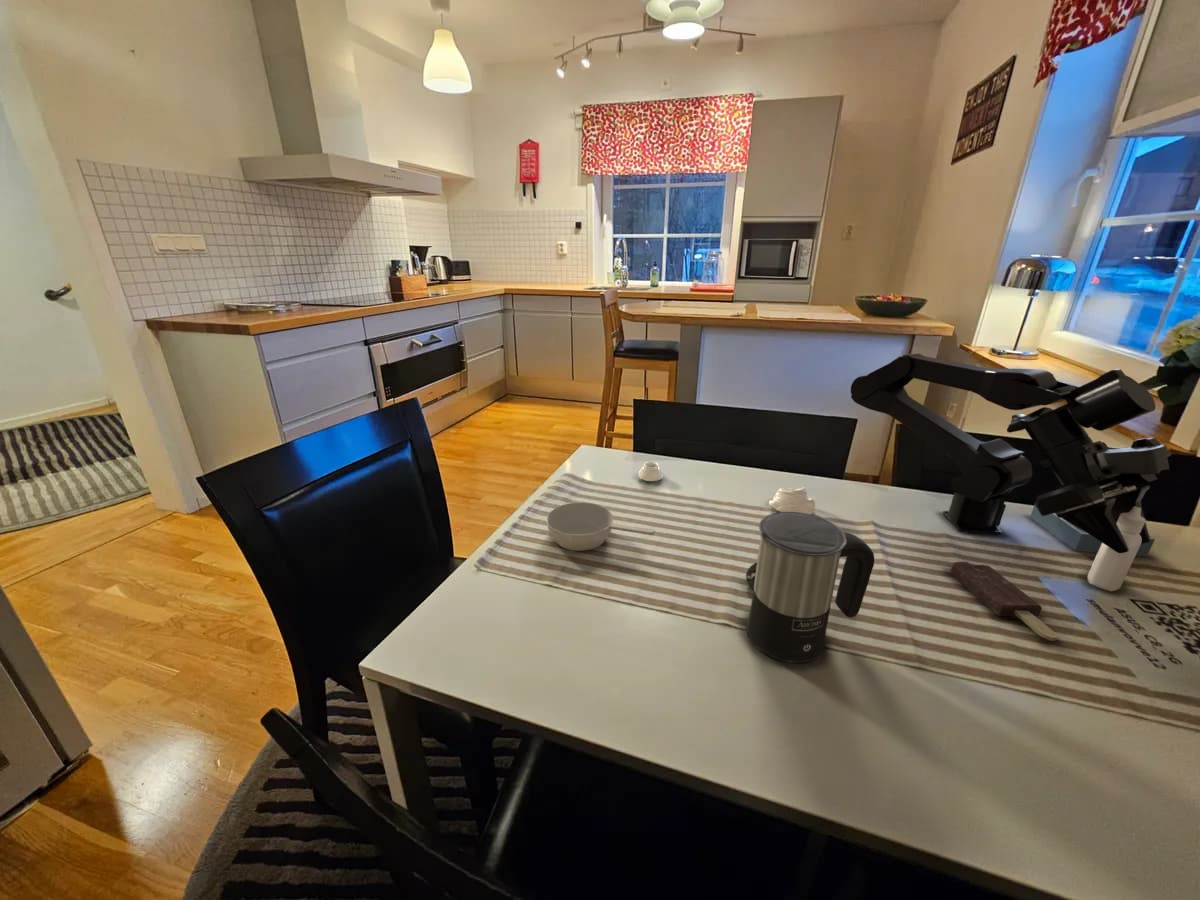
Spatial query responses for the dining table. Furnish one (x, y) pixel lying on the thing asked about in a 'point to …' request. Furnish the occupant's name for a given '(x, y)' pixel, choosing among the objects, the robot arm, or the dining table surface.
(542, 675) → the dining table surface
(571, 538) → the small pan
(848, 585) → the milk frother
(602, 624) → the dining table surface
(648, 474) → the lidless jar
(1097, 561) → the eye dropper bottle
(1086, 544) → the blue-grey tray
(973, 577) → the ice cream bar
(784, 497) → the whipped cream
